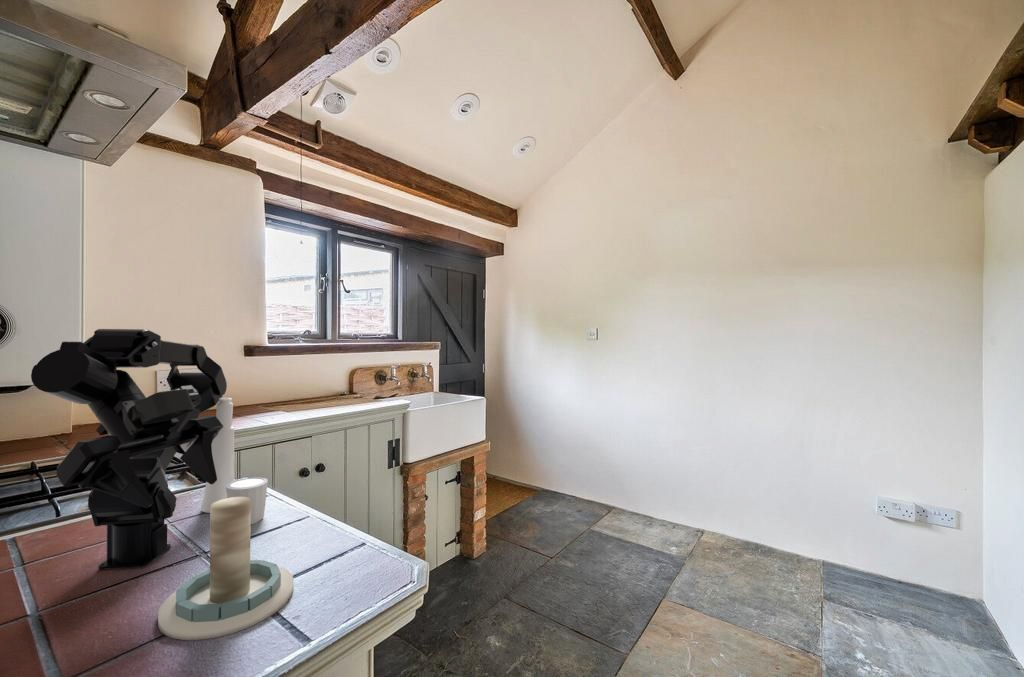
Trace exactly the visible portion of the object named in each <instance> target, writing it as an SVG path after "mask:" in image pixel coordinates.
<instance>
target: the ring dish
mask: <svg viewBox="0 0 1024 677" xmlns="http://www.w3.org/2000/svg"><path fill="white" fill-rule="evenodd" d="M294 580H295V579H294V576H293V574H292V572H290V571H289V570H288V569H286V567H282V566H278V564H277V563H274V562H272V561H271V562H270V561H267V560H263V559H253V560H252V559H250V591H249V592H248V593H247V594H246V595H245V596H244V597H242V598H239V599H235V600H232V601H228V602H225V603H221V604H216V603H213V602H211V601H210V568H209V569H207V570H205V571H203V572H200V573H198V574H197V575H194V576H193V577H191V578H189V579H188V580H187V581H185V582H184V583H183V584H182V585H181V586H180V587H179V588H178V589H177V590H175V591H174V592H173V593H172V594H170V595H169V596H168V597H167V598H166V599H165V600H164V601H163V602H162V603H161V605H160V607H159V609H158V613H157V626H158V629H159V631H160V633H161V634H163V635H165V636H167V637H168V638H171V639H175V640H176V639H177V640H183V641H199V640H200V641H201V640H208V639H213V638H219V637H223V636H228V635H231V634H234V633H238V632H240V631H242V630H247V628H250V627H253V626H254V625H257V624H259V623H260V622H263V621H265V620H266V619H268V618H270V617H271V616H273V615H274V614H275V613H277V612H278V611H280V609H282V608H283V607H284V606H285V605H286V602H287V603H288V602H289V600H290V599H291V597H292V595H293V593H294V582H295V581H294ZM292 592H293V593H292ZM290 596H291V597H290ZM289 598H290V599H289ZM288 599H289V600H288Z"/></svg>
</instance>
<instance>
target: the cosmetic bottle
mask: <svg viewBox="0 0 1024 677" xmlns="http://www.w3.org/2000/svg"><path fill="white" fill-rule="evenodd" d="M232 401H233V398H232V397H222V398H219V401H218V403H217V404H216V412H215V414H216V415H215V416H216V417H217V418H218V420H219V421H220V422H221V424H222V425H223V428H222V429H221V430H220V431H219V432H218V435H217V436H216V437H215V438H214V439H213V441H212V456H213V461H214V466H215V470H216V475H217V481H216V482H215V483H214V484H209V483H208V482H206V481H205V482H206V483H205V488H204V493H203V494H204V495H203V498H202V503H201V506H200V510H201V512H203V513H206V514H210V506H211V505H212V504H213V503H214V502H216V501H219V500H222V499H226V498H227V493H226V485H227V484H229V483H230V482H233V481H235V427H234V426H233V414H234V413H233V412H234V411H233V410H234V403H233V402H232Z"/></svg>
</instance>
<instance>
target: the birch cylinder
mask: <svg viewBox="0 0 1024 677" xmlns="http://www.w3.org/2000/svg"><path fill="white" fill-rule="evenodd" d="M209 514H210V518H209V520H210V521H209V523H210V524H209V526H210V527H209V532H210V533H209V536H210V537H209V569H210V601H211V602H213V603H216V604H221V603H225V602H228V601H232V600H235V599H239V598H242V597H244V596H245V595H246V594H247V593H248V592H249V591H250V560H251V527H252V526H251V525H252V524H251V499H250V498H248V497H231V498H226V499H222V500H219V501H216V502H214V503H213V504H212V505H211V506H210V513H209Z"/></svg>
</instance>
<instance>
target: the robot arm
mask: <svg viewBox="0 0 1024 677" xmlns="http://www.w3.org/2000/svg"><path fill="white" fill-rule="evenodd" d="M93 333H94V334H93V335H92V336H91V337H89V338H87V340H85V341H84V342H83V341H62V342H61V344H60V347H59V349H57V350H55V351H52V352H49V353H48V354H47V355H45V356H44V357H42V358H41V359H40V360H39V361H38V362H37V363H36V364H34V365H33V367H32V369H31V374H30V378H31V382H32V384H33V386H35V388H36V389H38V390H40V391H42V392H44V393H46V394H50V395H52V396H55V397H58V398H60V399H64V400H66V401H69V402H72V403H74V404H79V405H87V406H88V408H90V410H91V411H92V412H93V415H95V417H96V418H97V420H98V422H99V423H100V425H99V426H98V427H97V428H96V429H95V430H96V432H97V434H99V436H100V437H99V436H98V437H93V438H89V439H84V440H78V441H77V442H76V443H75V444H74V446H73V447H72V448H71V449H70V451H69V452H68V453H67V454H66V456H65V457H64V458H63V459H62V460H61V462H60V463H59V464H58V465H57V467H56V477H57V478H58V480H59V481H60V482H61V484H62V486H63V487H65V488H69V487H73V486H78V487H79V488H80V489H87V488H89V489H91V490H90V493H89V495H88V498H87V504H88V509H89V512H90V515H91V519H92V520H93V521H92V522H93V525H94V527H101V526H106V559H105V560H104V561H102V562H101V563H100V564H98V566H97V567H98V569H99V570H104V569H105V570H107V569H111V570H112V569H131V568H132V569H133V568H143V567H147V565H150V563H152V562H153V561H154V560H156V559H158V558H159V557H160V556H161V555H162V554H164V553H165V552H167V551H169V549H171V547H172V544H170V543H168V524H167V523H165V520H166V519H170V518H171V517H173V515H174V514H173V513H174V512H175V509H176V506H177V496H176V495H175V494H174V493H173V492H172V491H171V489H170V488H169V483H168V479H167V475H166V471H167V469H168V467H169V465H170V463H171V462H172V461H173V458H174V457H175V456H176V453H178V454H181V456H180V457H179V459H180V460H181V461H182V462H183V463H184V464H185V465H187V467H189V468H190V469H191V470H192V471H193V472H194V473H196V475H197V476H199V477H200V478H201V479H202V480H204V482H208V483H209V484H214V483H215V482H216V481H217V475H216V470H215V466H214V461H213V456H212V441H213V439H214V438H215V437H216V436H217V435H218V432H219V431H220V430H221V429H222V428H223V425H222V424H221V422H220V421H219V420H218V418H217V417H216V415H215V416H214V415H207V416H201V417H199V416H200V415H201V414H202V413H204V412H206V411H207V410H209V409H212V408H214V407H215V406H217V404H218V403H219V398H223V396H224V395H225V393H226V391H227V386H228V385H227V384H228V383H227V379H226V376H225V374H224V371H223V369H222V366H221V365H220V364H218V363H217V362H215V361H214V360H213V359H212V358H211V357H209V356H208V354H207V351H206V349H205V347H204V346H203V345H199V344H187V343H181V342H173V341H167V340H163V339H162V338H161V337H162V336H161V335H160V334H158V333H156V332H154V331H152V330H149V329H144V328H143V329H140V328H137V329H135V328H134V329H133V328H129V329H127V328H98V329H96V330H95V331H93ZM159 364H161V365H162V364H164V365H169V367H170V371H169V373H168V376H166V377H167V378H166V382H167V384H168V386H169V388H170V389H169V390H164V391H159V392H158V391H157V392H156V393H153V394H151V395H149V396H146V395H145V394H144V393H143V391H142V390H141V388H139V386H138V384H136V381H135V380H134V379H133V378H132V376H131V375H130V374H129V372H127V371H126V370H123V368H124V369H125V368H126V369H127V368H129V369H130V368H131V369H133V368H134V369H136V368H138V369H139V368H141V369H142V368H150V367H154V366H157V365H159ZM178 367H197V369H198V371H200V372H181V373H180V371H179V368H178ZM118 368H121V369H118Z"/></svg>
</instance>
